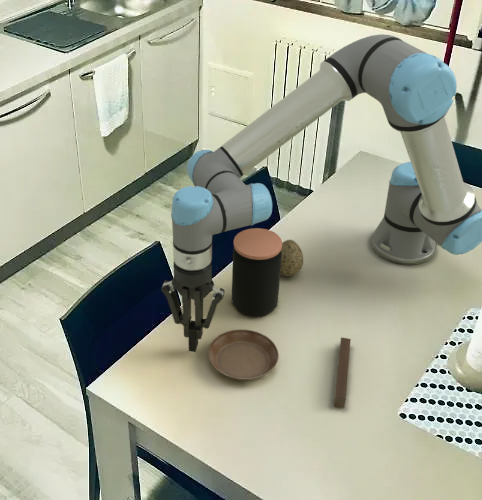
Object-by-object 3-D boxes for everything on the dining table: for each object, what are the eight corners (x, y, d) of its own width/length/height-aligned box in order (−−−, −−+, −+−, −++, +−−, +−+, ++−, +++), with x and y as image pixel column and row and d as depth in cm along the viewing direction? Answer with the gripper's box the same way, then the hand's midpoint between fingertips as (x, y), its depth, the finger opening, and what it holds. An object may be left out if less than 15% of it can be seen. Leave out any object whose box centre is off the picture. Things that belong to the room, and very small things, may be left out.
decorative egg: (307, 276, 175) (311, 243, 169) (283, 286, 173) (286, 253, 167) (290, 261, 181) (293, 228, 175) (266, 270, 178) (268, 237, 172)
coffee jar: (283, 295, 170) (288, 233, 160) (269, 324, 163) (274, 261, 152) (240, 285, 174) (242, 223, 163) (224, 312, 167) (226, 250, 156)
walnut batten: (348, 348, 155) (350, 338, 154) (344, 408, 142) (345, 398, 141) (339, 347, 156) (341, 337, 154) (333, 406, 143) (335, 396, 141)
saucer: (206, 337, 160) (206, 329, 158) (273, 337, 159) (274, 328, 158) (209, 388, 148) (209, 379, 147) (281, 387, 148) (282, 378, 146)
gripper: (155, 267, 140) (159, 354, 154) (221, 277, 137) (219, 364, 151) (165, 245, 146) (168, 330, 160) (229, 253, 143) (226, 340, 157)
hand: (193, 347), depth 155 cm, fingers closed
